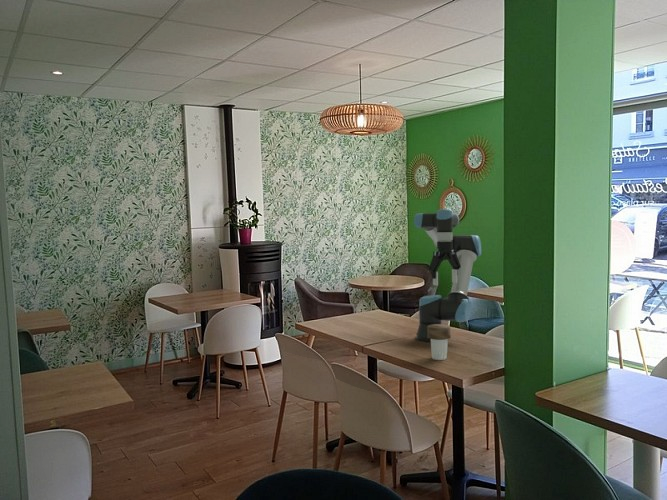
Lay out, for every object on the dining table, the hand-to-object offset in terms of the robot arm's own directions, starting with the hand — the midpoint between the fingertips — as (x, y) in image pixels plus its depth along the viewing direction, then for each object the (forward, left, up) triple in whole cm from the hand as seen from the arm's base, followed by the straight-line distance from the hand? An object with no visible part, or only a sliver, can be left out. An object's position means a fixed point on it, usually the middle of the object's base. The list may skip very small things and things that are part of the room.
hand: (445, 283), depth 273 cm
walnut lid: (+15, +10, -23) cm, 29 cm away
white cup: (+15, +10, -33) cm, 37 cm away
